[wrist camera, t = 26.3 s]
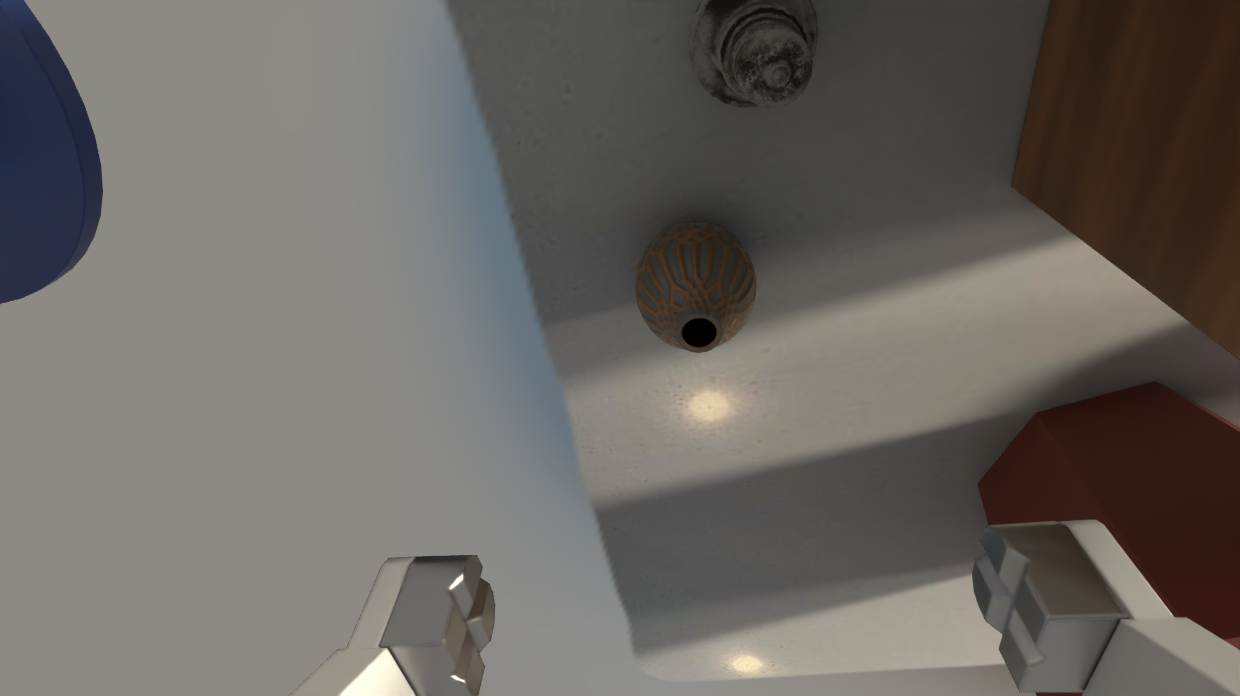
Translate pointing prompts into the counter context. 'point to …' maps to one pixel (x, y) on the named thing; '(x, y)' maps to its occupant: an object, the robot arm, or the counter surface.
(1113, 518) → the bucket
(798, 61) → the grey stone turned figure
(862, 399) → the counter surface
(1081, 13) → the cupboard door
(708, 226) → the vase
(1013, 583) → the robot arm
